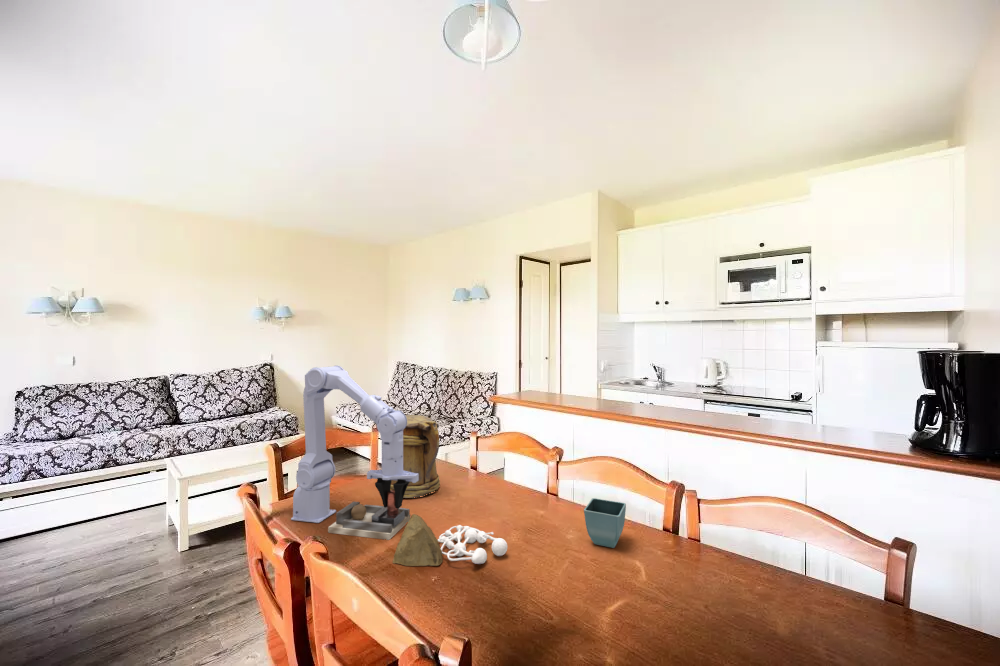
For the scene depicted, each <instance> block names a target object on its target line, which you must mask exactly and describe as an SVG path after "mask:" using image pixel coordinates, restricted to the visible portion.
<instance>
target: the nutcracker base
mask: <svg viewBox="0 0 1000 666" xmlns="http://www.w3.org/2000/svg"><path fill="white" fill-rule="evenodd" d="M358 504H361V503H360V501H352V502H350V503H349V504H348V505H346V506H344V507H343V508H342V509H340V510H339V511H336V512H335V513H336V515H335V517H336V518H335V522H333V523H332V524H330V525H329V526H327V532H328V534H338V535H345V536H346V535H347V536H353V537H362V538H371V539H377V540H385V539H386V541H390V540H391V539H392V538H393V537H394V536H396V534H397V533H399V532H400V530H401V529H403V527H405V526H406V525H407V524H406V523H407V522H408V521H409V520H410V518H411V513H410V508H404V507H400V508H399V509H405V518H404V519H403V520H402V521H401V522H400V523H399V524H398V525H397V526H396V527H395V528H392V524H384V523H375V522H372V515H374V514H375V513H376V512H377V511H379V510H380V509H381V508H383V507H384V506H383V505H375V504H363V505H364V506H365V508H366V515H365V516H364V517H363V518H362V519H360V520H355V519H354V518H353V517H352V515H351V511H352V509H353V507H354V506H356V505H358Z"/></svg>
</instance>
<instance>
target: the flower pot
mask: <svg viewBox="0 0 1000 666" xmlns="http://www.w3.org/2000/svg"><path fill="white" fill-rule="evenodd" d="M626 506H627V504H626V503H625V502H621V501H615V500H614V501H613V500H610V499H609V500H607V499H601V498H597V497H594V498H591V499H590V501H589V502H588V503H587V505H586V506H585V507H584V509H583V513H584V521H585V527H586V532H587V534H588V536H589V538H590V541H592V543H593V544H594V545H598V546H601V547H606V548H610V549H611V548H612V549H614V548H616V547H617V544H618V542H619V539H620V537H621V535H622V533H623V530H624V527H625V522H626V521H625V520H626V509H627V507H626Z"/></svg>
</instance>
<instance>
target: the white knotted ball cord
mask: <svg viewBox="0 0 1000 666" xmlns="http://www.w3.org/2000/svg"><path fill="white" fill-rule="evenodd" d="M453 529H456V532H454V533H453V532H452V530H453ZM462 535H464V541H463V542H461V541H462V538H463V537H462ZM491 535H494V531H491V532H485V531H483V530H479V528H476V527H471V526H469V525H464V526H463V525H461V524H457V525H454V526H451V527H450V528H449V529H446V530H445V531H444V533H442V534H440V535H439V536H438V539H437V540H438V542H439V543H442V544H441V547H440V549H441V551H442V555H445V556H447V557H446V558H447V559H448V561H449V562H456V561H457V562H458V561H469V560H471V562H472V563H473V564H477V565H481V564H484V563H486V562H487V559H488V554H487V551H486V550H485V549H484V548H482V547H477V548H475V550H471V549H470V550H469V551H467V548H466V547H467V546H466V544H467V543H468V544H473V543H476V541H477V543H479V544H483V543H486V542H487V539H488V540H491V541H492V543H491V550H492V552H493V554H494V555H495V556H497V557H502V556H503V555H505V554H506V553H507V551H508V543H507V541H506V540H505V539H504V538H501V537H498V538H497V537H493V536H491ZM454 541H456V542H457V543H456V544H455V543H454ZM445 546H446V547H447V549H449V550H448V552H445V551H443V549H444V547H445ZM464 555H465V556H467V557H462V556H464ZM456 556H457V558H451V557H456Z"/></svg>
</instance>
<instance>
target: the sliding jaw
mask: <svg viewBox="0 0 1000 666" xmlns="http://www.w3.org/2000/svg"><path fill="white" fill-rule="evenodd" d="M404 518H405V509H396V506H395V491H394V490H389V491H387V507H386V508H385V507H383V508H381V509H380V510H379V511H377V512H376V513H375V514H374V515H372V522H375V523H384V524H392V528H395V527H396V526H397V525H398V524H399V523H400V522H401V521H402V520H403V519H404Z"/></svg>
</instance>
